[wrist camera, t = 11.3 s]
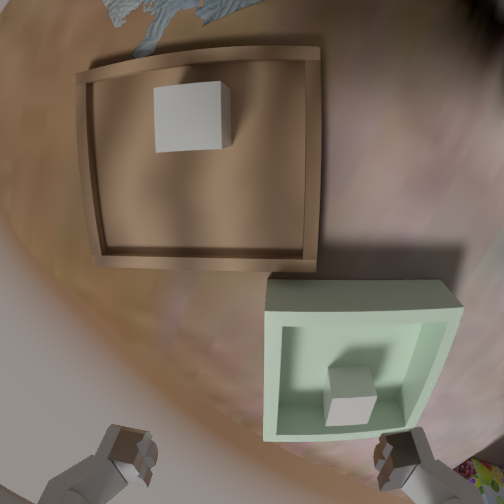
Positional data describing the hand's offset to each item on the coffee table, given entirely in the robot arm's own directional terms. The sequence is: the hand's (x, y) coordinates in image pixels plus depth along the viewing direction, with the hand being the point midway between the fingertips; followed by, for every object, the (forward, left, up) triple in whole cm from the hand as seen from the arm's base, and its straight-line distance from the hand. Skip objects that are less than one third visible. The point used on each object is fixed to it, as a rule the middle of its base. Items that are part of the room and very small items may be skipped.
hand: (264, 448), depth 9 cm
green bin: (-7, +9, -17) cm, 20 cm away
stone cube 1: (-7, +12, -16) cm, 21 cm away
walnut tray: (+6, -8, -17) cm, 19 cm away
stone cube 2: (+5, -11, -16) cm, 20 cm away
